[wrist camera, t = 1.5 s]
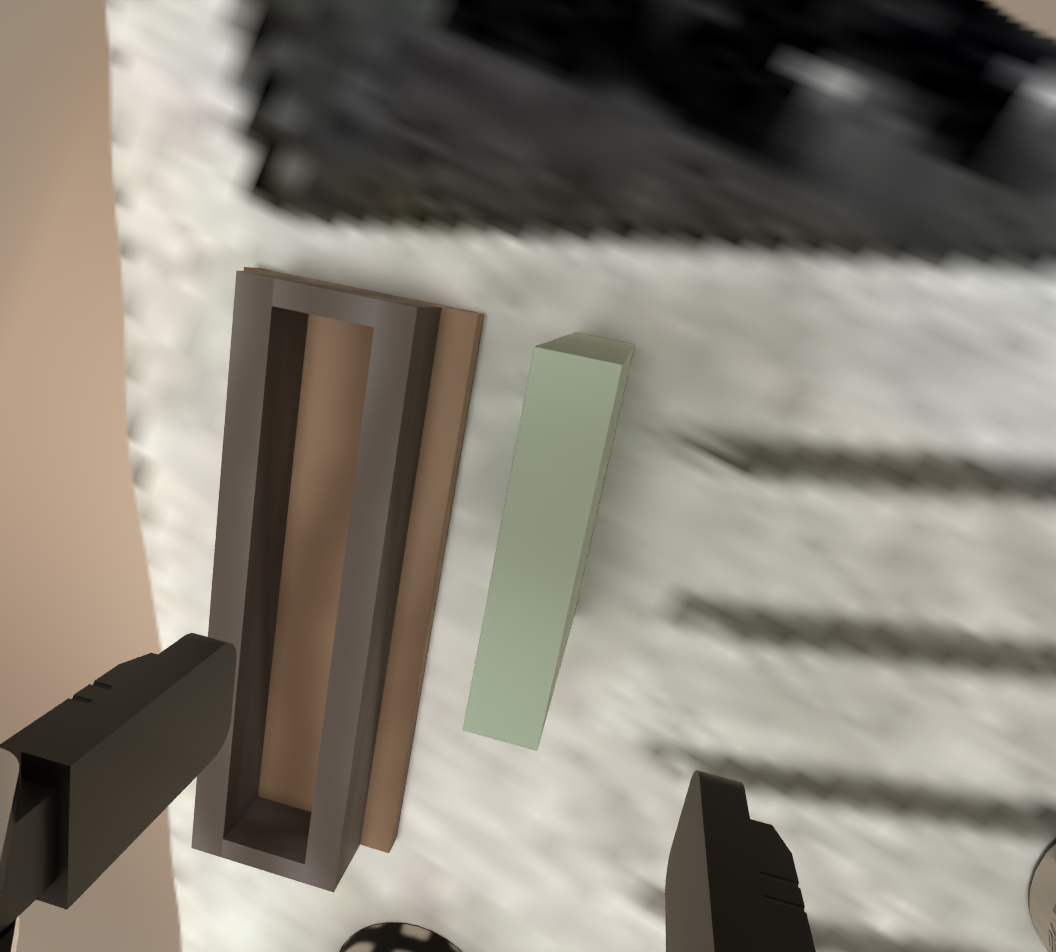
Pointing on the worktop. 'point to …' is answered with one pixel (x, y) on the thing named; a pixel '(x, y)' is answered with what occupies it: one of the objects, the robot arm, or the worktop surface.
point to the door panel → (545, 532)
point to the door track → (328, 563)
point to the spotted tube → (396, 940)
